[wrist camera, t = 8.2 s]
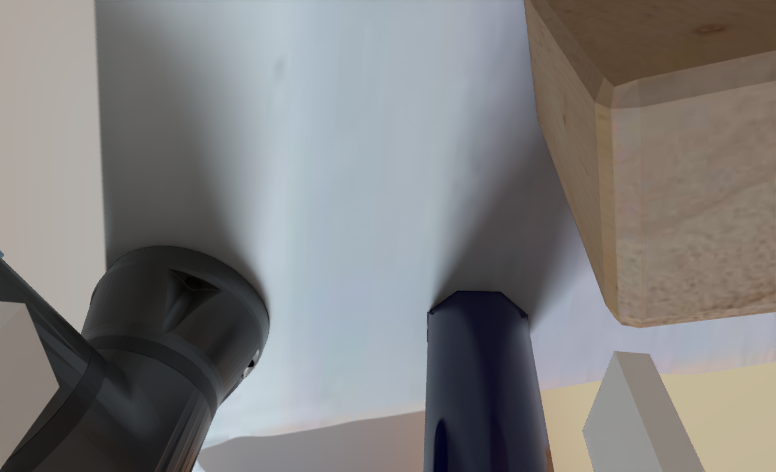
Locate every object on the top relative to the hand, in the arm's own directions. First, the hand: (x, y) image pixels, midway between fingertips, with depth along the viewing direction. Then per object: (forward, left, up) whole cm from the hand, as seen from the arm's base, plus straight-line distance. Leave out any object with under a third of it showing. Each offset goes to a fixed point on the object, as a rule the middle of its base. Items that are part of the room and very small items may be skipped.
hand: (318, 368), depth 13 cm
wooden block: (+13, -3, -27) cm, 30 cm away
